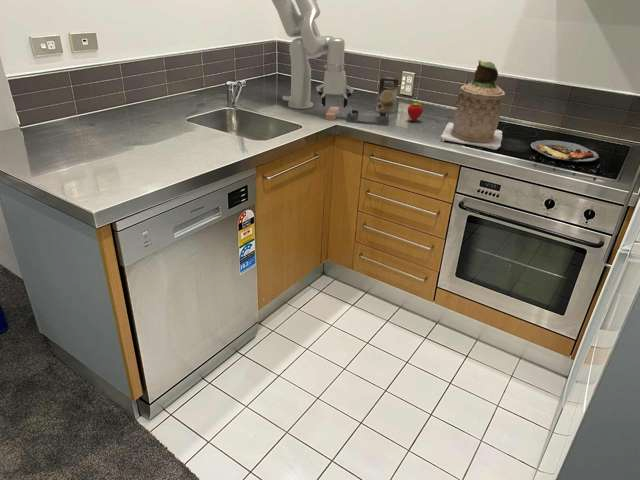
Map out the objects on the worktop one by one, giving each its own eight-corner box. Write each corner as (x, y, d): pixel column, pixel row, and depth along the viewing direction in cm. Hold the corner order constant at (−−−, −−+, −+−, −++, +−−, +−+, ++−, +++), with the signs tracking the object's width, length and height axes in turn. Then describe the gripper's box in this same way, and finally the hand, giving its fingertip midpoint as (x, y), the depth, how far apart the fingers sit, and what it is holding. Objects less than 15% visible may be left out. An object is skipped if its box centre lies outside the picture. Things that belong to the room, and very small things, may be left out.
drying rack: (346, 121, 222) (346, 114, 220) (348, 115, 231) (349, 108, 229) (387, 125, 220) (388, 118, 218) (388, 119, 228) (389, 112, 227)
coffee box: (376, 111, 239) (379, 78, 231) (376, 108, 245) (379, 75, 236) (394, 113, 238) (398, 79, 230) (394, 109, 244) (398, 76, 236)
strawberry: (403, 119, 229) (406, 98, 224) (417, 118, 231) (420, 97, 226) (409, 123, 224) (412, 101, 219) (423, 122, 227) (427, 100, 222)
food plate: (610, 163, 189) (613, 155, 187) (560, 168, 183) (563, 159, 181) (565, 144, 210) (567, 136, 208) (519, 147, 204) (520, 139, 202)
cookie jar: (500, 151, 197) (520, 69, 180) (439, 142, 203) (452, 61, 187) (502, 134, 217) (520, 58, 201) (446, 126, 224) (460, 52, 207)
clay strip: (325, 120, 224) (325, 114, 222) (330, 112, 236) (330, 106, 234) (334, 121, 223) (334, 115, 222) (338, 113, 235) (338, 107, 234)
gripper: (314, 68, 216) (314, 107, 224) (353, 70, 213) (352, 109, 222) (317, 65, 222) (317, 103, 231) (355, 67, 220) (353, 105, 228)
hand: (334, 106), depth 226 cm, fingers open, 9 cm apart
